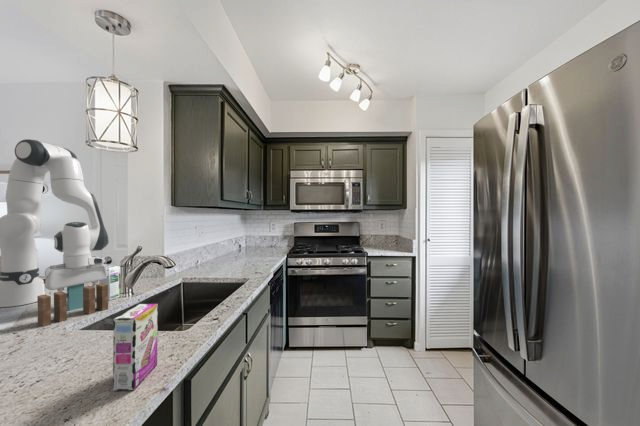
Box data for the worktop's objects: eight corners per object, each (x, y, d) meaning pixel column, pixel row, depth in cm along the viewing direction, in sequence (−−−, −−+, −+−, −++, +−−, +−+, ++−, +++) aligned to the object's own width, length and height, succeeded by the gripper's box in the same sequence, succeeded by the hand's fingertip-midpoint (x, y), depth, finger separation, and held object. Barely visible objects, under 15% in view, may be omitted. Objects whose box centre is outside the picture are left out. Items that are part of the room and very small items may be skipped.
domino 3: (67, 310, 117) (66, 285, 117) (82, 306, 122) (81, 282, 122) (69, 310, 116) (69, 286, 116) (84, 307, 121) (84, 283, 121)
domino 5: (102, 310, 117) (102, 285, 116) (96, 308, 119) (96, 284, 119) (108, 309, 118) (107, 284, 118) (101, 307, 121) (101, 283, 121)
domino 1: (43, 326, 101) (43, 297, 101) (37, 323, 103) (37, 295, 103) (51, 324, 103) (50, 296, 102) (45, 321, 105) (44, 294, 105)
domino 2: (59, 322, 105) (59, 294, 105) (54, 319, 107) (53, 292, 107) (66, 320, 106) (66, 293, 106) (60, 317, 109) (60, 291, 109)
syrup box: (109, 300, 129) (109, 268, 129) (98, 299, 131) (98, 267, 130) (120, 296, 135) (120, 265, 135) (110, 296, 136) (110, 265, 136)
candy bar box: (135, 391, 65) (135, 318, 65) (112, 392, 65) (111, 319, 64) (159, 364, 76) (158, 302, 76) (139, 365, 76) (138, 303, 76)
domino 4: (89, 314, 113) (89, 288, 112) (83, 312, 115) (82, 286, 115) (95, 312, 114) (95, 287, 114) (89, 310, 117) (88, 285, 117)
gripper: (48, 267, 109) (49, 303, 109) (108, 258, 127) (109, 289, 127) (41, 265, 112) (42, 301, 112) (101, 257, 130) (102, 288, 130)
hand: (78, 295), depth 120 cm, fingers open, 8 cm apart
